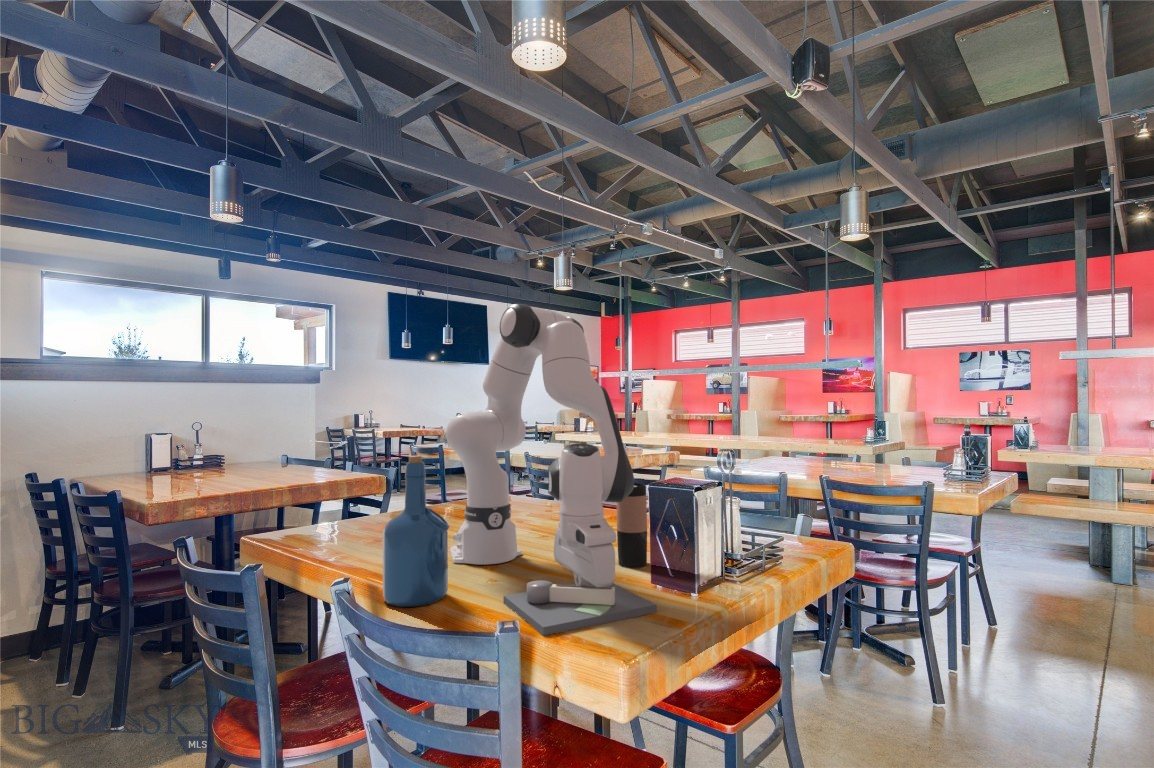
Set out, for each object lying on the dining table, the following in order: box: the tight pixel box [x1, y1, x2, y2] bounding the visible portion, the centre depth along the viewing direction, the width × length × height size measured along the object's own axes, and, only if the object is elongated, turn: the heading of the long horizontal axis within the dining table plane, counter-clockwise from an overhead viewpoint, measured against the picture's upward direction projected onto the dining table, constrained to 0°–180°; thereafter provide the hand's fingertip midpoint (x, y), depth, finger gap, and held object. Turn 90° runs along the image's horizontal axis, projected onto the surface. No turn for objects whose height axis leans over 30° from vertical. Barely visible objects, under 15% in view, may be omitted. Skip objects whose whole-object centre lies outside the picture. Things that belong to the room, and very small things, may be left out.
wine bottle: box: [382, 455, 450, 608], centre depth 125 cm, size 14×13×30 cm
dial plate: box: [502, 582, 658, 637], centre depth 117 cm, size 20×24×2 cm
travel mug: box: [616, 482, 648, 569], centre depth 150 cm, size 8×8×20 cm
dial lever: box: [526, 579, 615, 605], centre depth 116 cm, size 5×18×3 cm, turn 78°
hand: (582, 595), depth 117 cm, fingers closed
